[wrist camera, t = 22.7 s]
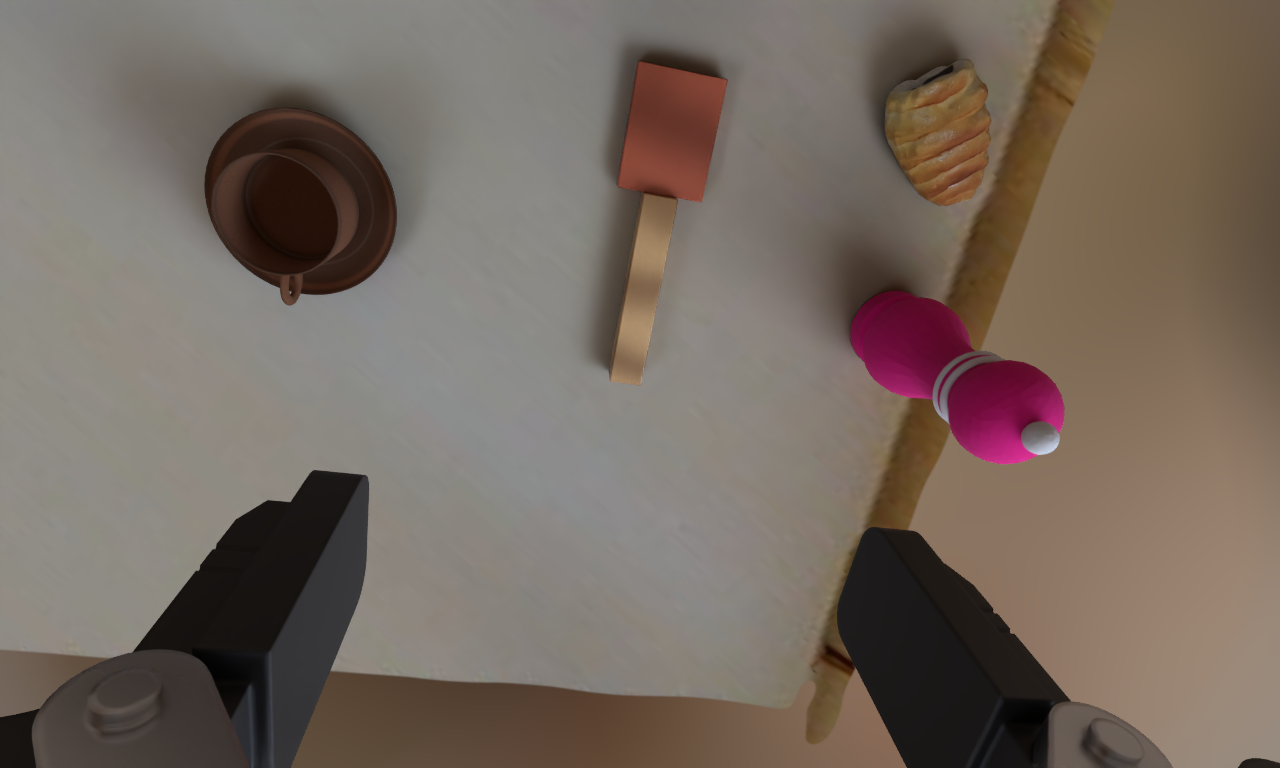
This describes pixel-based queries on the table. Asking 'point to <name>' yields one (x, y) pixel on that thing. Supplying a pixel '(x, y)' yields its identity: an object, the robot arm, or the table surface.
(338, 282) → the cup and saucer
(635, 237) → the spatula
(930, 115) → the pastry
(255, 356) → the table surface
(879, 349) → the pepper mill
